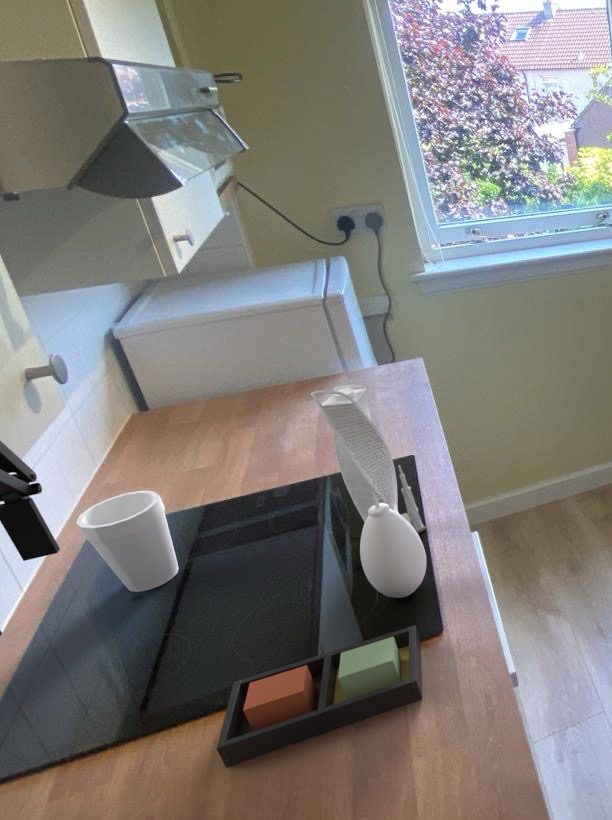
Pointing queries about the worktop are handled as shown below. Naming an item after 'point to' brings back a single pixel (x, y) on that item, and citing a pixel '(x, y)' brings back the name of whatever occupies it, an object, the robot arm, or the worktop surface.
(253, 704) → the terracotta block
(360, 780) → the worktop surface
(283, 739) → the divided sorting tray
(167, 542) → the foam cup
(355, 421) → the skyscraper
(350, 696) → the light green block
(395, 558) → the white tall egg-shaped piece
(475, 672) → the worktop surface
